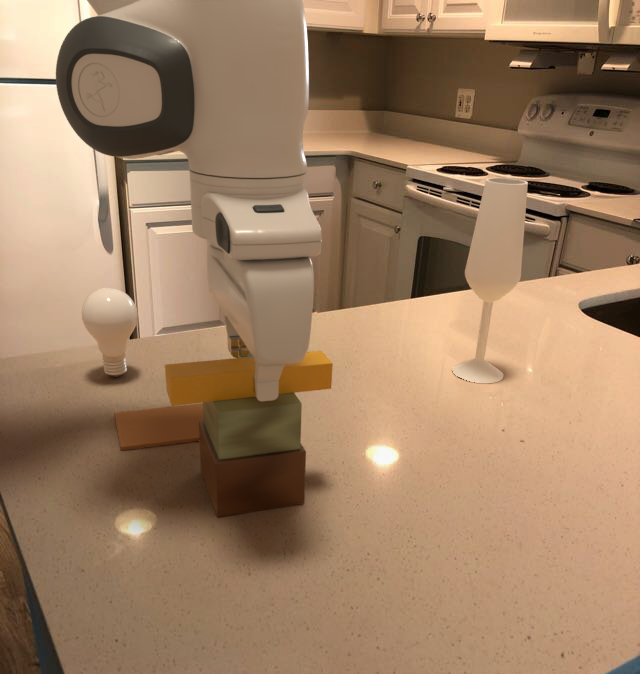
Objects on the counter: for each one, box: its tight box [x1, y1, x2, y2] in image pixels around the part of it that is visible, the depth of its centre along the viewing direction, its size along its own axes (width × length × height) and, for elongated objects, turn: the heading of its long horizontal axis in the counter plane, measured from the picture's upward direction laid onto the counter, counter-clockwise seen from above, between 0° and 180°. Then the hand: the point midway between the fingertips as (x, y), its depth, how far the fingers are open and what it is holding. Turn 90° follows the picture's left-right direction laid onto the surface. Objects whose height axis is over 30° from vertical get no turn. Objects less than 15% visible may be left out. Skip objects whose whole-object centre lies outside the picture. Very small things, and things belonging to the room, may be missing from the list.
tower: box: [199, 393, 307, 518], centre depth 64 cm, size 8×8×10 cm
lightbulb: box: [81, 287, 139, 378], centre depth 85 cm, size 6×6×11 cm
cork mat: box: [114, 402, 204, 451], centre depth 77 cm, size 14×8×1 cm, turn 109°
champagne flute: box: [452, 177, 529, 384], centre depth 87 cm, size 7×7×24 cm
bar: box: [164, 350, 334, 407], centre depth 61 cm, size 14×3×2 cm, turn 109°
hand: (251, 374), depth 61 cm, fingers open, 8 cm apart
